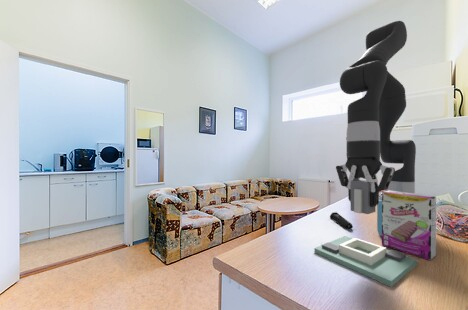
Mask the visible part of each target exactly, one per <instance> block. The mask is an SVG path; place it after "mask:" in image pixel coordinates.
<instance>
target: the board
mask: <svg viewBox="0 0 468 310" xmlns="http://www.w3.org/2000/svg"><path fill="white" fill-rule="evenodd" d="M314 253H315V254H317V255H320V256H322V257H324V258H326V259H328V260H330V261H332V262H335V263H337V264H339V265H341V266H344V267H346V268H348V269H350V270H353V271H355V272H357V273H359V274H361V275H364V276H366V277H368V278H370V279H373V280H375V281H377V282H380V283H382V284H384V285H386V286H388V287H391V288H392V287H393V286H395V284H397V283H398V282H399V281H400V280H401V279H403V277H405V276H406V275H407V274H408V273H409V272H410V271H412V270H413V269H414V268H416V266H418V258H415V257H411V256H408V255H407V253H405V252H402V251H399V250H395V249H391V250H390V249H388V248H387V247H386V246H383V245H379V244H376V243H373V242H370V241H366V240H364V239H363V240H362V239H359V238H357V237H354V238H353V237H349V236H346V235H344V236H341V237H339V238H336V239H335V240H331V241H329V242H326V243H324V244H321V245H318V246H317V247H314Z"/></svg>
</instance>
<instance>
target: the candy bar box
mask: <svg viewBox="0 0 468 310" xmlns="http://www.w3.org/2000/svg"><path fill="white" fill-rule="evenodd" d="M381 200H382V236H381V246H382V247H386V248H390V249H391V250H395V251H398V252H401V253H404V254H409V255H412V256H414V257H418V258H421V259H424V260H428V261H432V260H433V259H434V258H435V257H436V255H437V246H436V245H437V196H435V195H430V194H429V195H427V194H422V193H421V194H419V193H415V194H414V193H406V192H398V191H390V190H388V191H385V190H383V191H381Z"/></svg>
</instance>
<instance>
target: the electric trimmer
mask: <svg viewBox="0 0 468 310" xmlns="http://www.w3.org/2000/svg"><path fill="white" fill-rule="evenodd" d="M329 218H330V219H332V220H334V221H336V223H337V224H338V225H339V226H341V227H343V228H346V229H353V227H354V226H353V223H351V222H350V221H349V220H347V219H346V218H344V217H343V216H342V215H341V214H339V212H332V213H331V214H330V215H329Z"/></svg>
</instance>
